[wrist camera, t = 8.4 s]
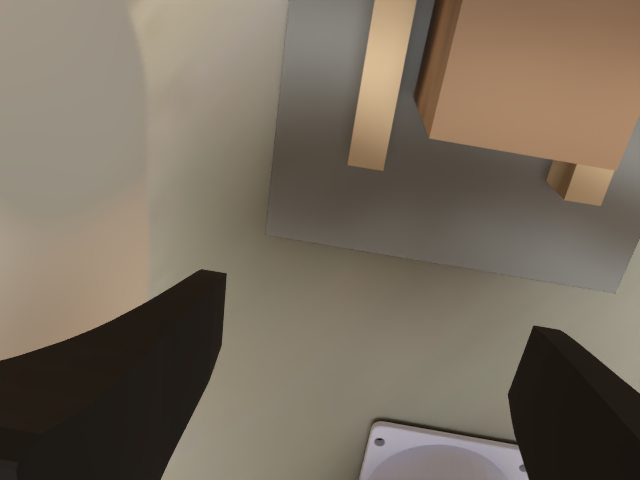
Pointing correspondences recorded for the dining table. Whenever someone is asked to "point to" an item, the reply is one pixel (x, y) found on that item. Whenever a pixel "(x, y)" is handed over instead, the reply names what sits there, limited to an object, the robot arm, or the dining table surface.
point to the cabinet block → (533, 77)
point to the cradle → (427, 164)
